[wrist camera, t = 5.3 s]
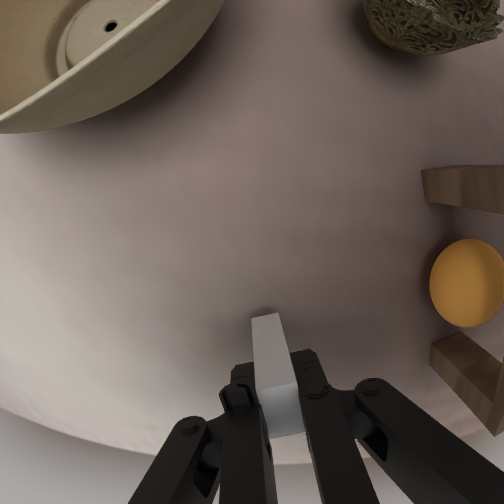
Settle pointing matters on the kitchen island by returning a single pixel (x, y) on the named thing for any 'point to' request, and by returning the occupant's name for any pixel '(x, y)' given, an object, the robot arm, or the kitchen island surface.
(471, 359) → the bridge
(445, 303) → the ball
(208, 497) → the robot arm
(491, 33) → the green lump
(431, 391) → the kitchen island surface
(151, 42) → the planter bowl
